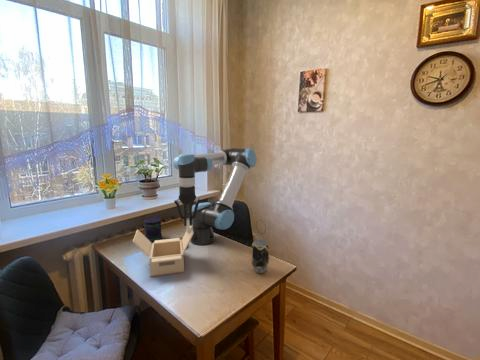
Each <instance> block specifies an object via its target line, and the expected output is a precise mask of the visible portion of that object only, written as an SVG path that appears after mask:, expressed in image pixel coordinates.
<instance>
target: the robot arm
mask: <svg viewBox="0 0 480 360" xmlns="http://www.w3.org/2000/svg"><path fill="white" fill-rule="evenodd" d="M172 163H173V167H174V169H176V170H178V186H179V188H178V191H179V195H178V198H177V199H174V204H175V205H176V208H177V211H178V215H179V219H180V220H183V225H184V227H186V231H187V233H190V226H191V225H192V229H193V232H194V234H193V236H192V238H191V240H190V242H189V243H191V244H193V245H201V246H202V245H207V244H211V243H213V242H214V241H216V240H215V239H216V237H215V232H214V230H213V228H215V229H217V230H223V231H224V230H227V229H229V228H231V226H232V224H233V223H234V221H235V213H234V208H233V204H234V202H235V200H236V197H237V195H238V193H239V190H240V188H241V185H242V183H243V180H244V178H245V176H246V173H248V172H250V169H251V168H254V167H255V166H256V164H257V154H256V151H255V150H254V149H253V148H248V147H246V148H244V147H243V148H241V147H237V148H236V147H235V148H234V147H230V148H225V149H222V150H218V151H217V152H210V153H199V154H193V153H181V154H179V156H175V158H174V159H173V162H172ZM215 165H216V166H217V165H219V166H232V168H231V170H230V174H229V176H228V178H227V180H226V183H225V186H224V188H223V189H222V192H221V194H220V197H219V200H217V201H215V202H214V205H213V206H212V203H211V202H207V201H206V202H201V199H200V198H198V197H197V195H196V186H195V185H196V173H202V172H203V173H205V172H208V171H211V170H212V169H213V166H215ZM194 202H195V204H193V203H194ZM180 203H182V205H183V211H182V209H181V206H180ZM192 204H193V205H192ZM187 205H188V214H187ZM182 212H183V213H182ZM187 217H188V218H187Z"/></svg>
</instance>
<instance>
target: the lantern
mask: <svg viewBox="0 0 480 360" xmlns="http://www.w3.org/2000/svg"><path fill="white" fill-rule="evenodd" d="M260 221H261V222H262V223H263V224H264V227H265V228H264V232H260V231H259V229H258V225H257V224H258V221H256V222H255V227H256V230H257V232H258V233H259V234H257V235H256V236H254V239H255V240H253V242H252V244H251V247H252V256H251V257H252V259H251V265H252V267H253V271H255V272H256V273H260V274H261V273H265V272H267V270H268V266H269V265H268V264H269V262H270V255H269V254H270V251H269V246H268V245H269V243H268V242H267V237H266V236H265V235H264V233H266V230H267V228H266V227H267V226H266V224H265V221H263V220H262V219H260Z"/></svg>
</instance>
